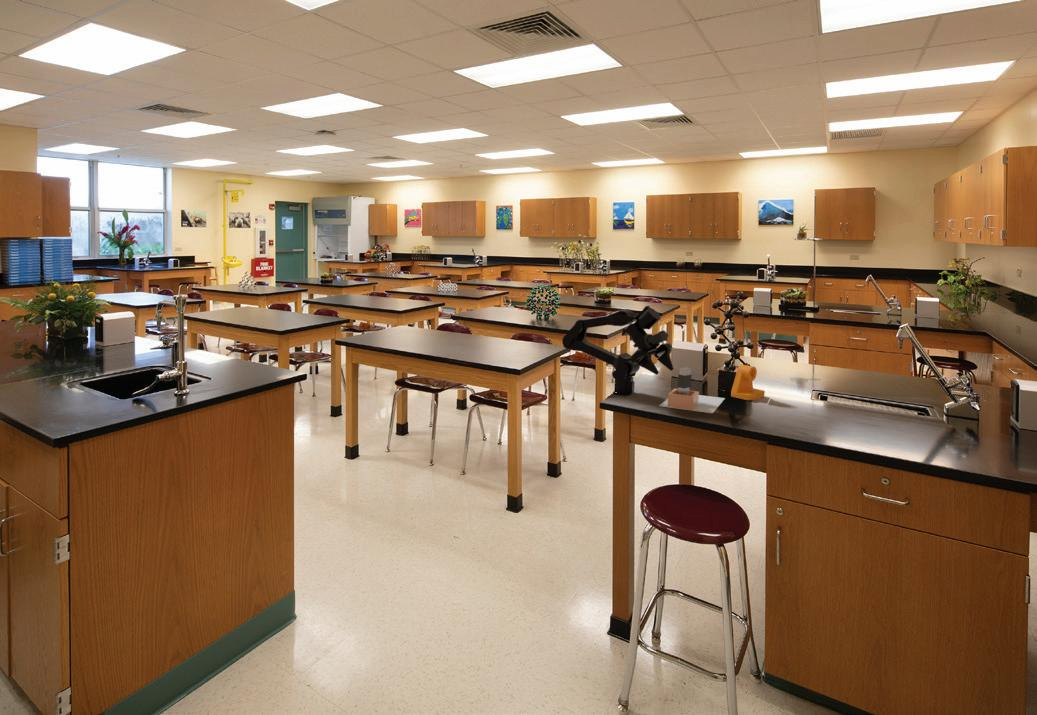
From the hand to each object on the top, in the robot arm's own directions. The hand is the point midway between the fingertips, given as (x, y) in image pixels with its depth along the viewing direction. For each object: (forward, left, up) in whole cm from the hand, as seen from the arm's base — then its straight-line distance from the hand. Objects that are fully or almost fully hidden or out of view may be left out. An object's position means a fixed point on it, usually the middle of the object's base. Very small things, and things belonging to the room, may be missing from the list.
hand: (665, 371), depth 209 cm
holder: (+7, -2, -11) cm, 13 cm away
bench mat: (+9, +4, -11) cm, 15 cm away
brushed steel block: (+7, -2, -10) cm, 13 cm away
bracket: (+25, +21, -11) cm, 35 cm away
